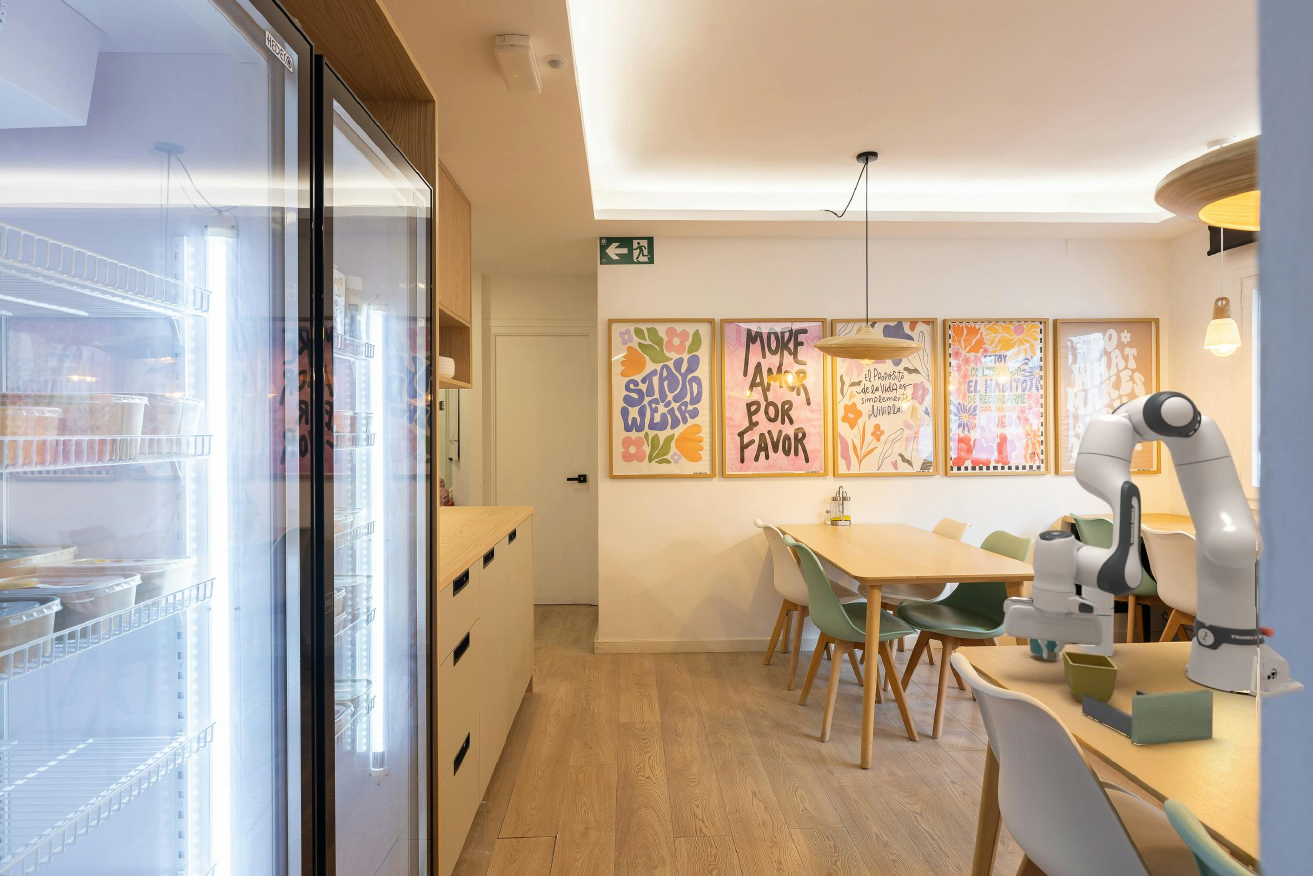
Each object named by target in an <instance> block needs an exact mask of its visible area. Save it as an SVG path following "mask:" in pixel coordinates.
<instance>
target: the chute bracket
mask: <svg viewBox="0 0 1313 876" xmlns="http://www.w3.org/2000/svg"><path fill="white" fill-rule="evenodd" d="M1135 693H1136V694H1135V695H1132V696H1131V714H1129V713H1128V712H1126V711H1124V710H1121V709H1119V708H1117V707H1115V706H1113V705H1110V704H1109V703H1108V702H1107V703H1105V702H1103V701H1100V700H1098V699H1096V698H1094V697H1092V696H1090V695H1088V694H1085V695H1082V702H1081V703H1082V704H1081V705H1082V706H1081V707H1082V708H1081V709H1082V710H1081V711H1082V712H1081V713H1084V714H1086V715H1088V716H1090V717H1092V718H1093V719H1096V720H1098V721H1100V722H1102V723H1104V724H1106V725H1108V726H1110V727H1112V728H1114V729H1116V730H1118V731H1120V732H1122V733H1124V734H1126V735H1127V736H1129V737H1130V738H1132V739H1131V743H1132V742H1133V743H1136V744H1151V745H1158V744H1159V745H1160V744H1169V743H1181V742H1190V741H1200V740H1211V739H1213V733H1214V732H1213V729H1214V728H1213V724H1214V722H1213V720H1214V717H1213V715H1214V691H1211V690H1209V689H1199V690H1197V689H1196V690H1188V691H1187V690H1185V691H1174V692H1172V691H1171V692H1163V693H1162V692H1161V693H1160V692H1159V693H1149V692H1147V691H1144V690H1142V689H1139V690H1136V692H1135ZM1084 714H1083V715H1084ZM1086 715H1085V716H1086ZM1088 716H1087V717H1088ZM1090 717H1089V718H1090ZM1092 718H1091V719H1092ZM1093 719H1092V720H1093ZM1130 738H1129V739H1130ZM1133 743H1132V744H1133Z"/></svg>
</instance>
